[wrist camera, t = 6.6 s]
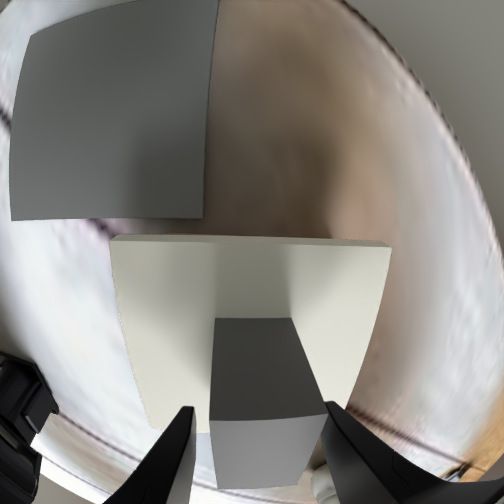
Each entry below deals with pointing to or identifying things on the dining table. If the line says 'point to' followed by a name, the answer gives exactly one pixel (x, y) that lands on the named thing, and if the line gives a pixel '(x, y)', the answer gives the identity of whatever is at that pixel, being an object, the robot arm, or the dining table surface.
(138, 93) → the mat
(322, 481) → the plastic bottle
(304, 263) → the lid
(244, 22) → the dining table surface
